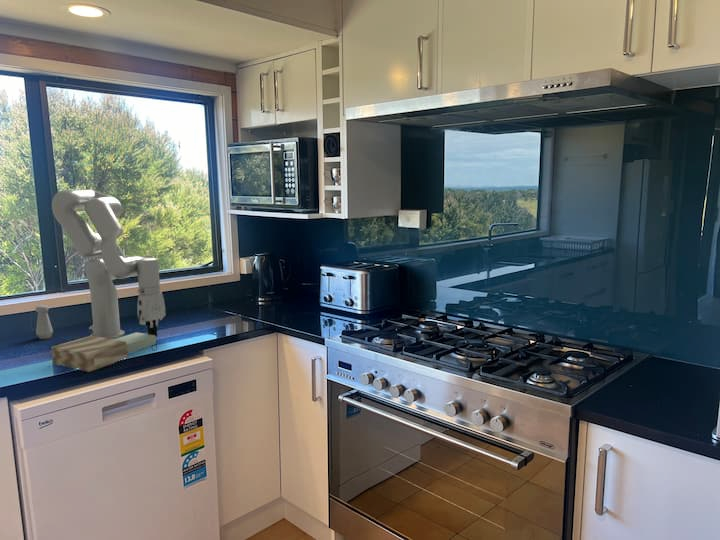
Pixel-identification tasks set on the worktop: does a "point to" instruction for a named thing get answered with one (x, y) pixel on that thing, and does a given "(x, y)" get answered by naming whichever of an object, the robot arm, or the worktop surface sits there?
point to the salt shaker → (43, 323)
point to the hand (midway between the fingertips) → (152, 336)
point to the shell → (137, 341)
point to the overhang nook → (89, 353)
